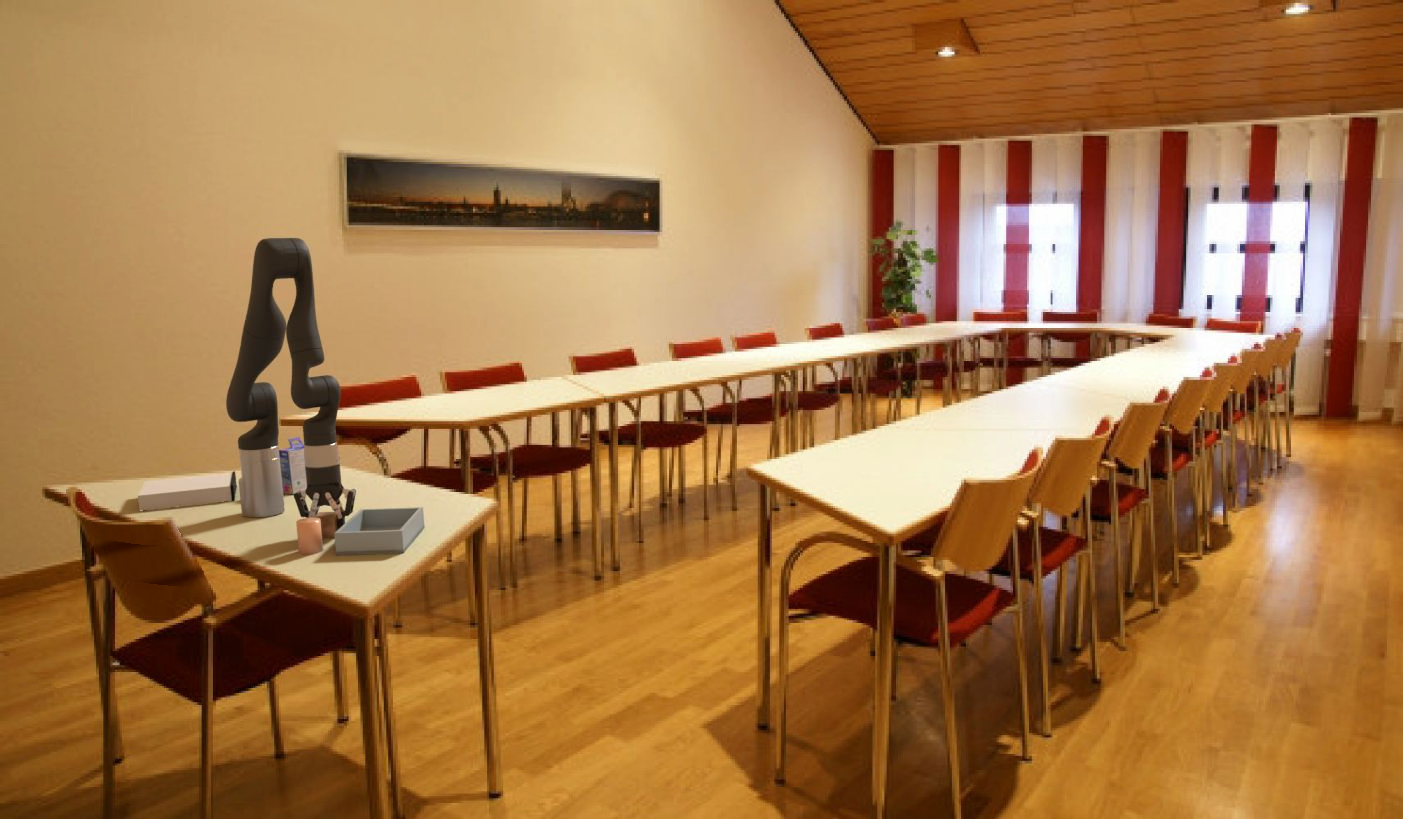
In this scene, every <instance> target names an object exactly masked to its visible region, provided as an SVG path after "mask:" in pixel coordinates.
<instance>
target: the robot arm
mask: <svg viewBox="0 0 1403 819" xmlns="http://www.w3.org/2000/svg"><path fill="white" fill-rule="evenodd" d="M310 252H311V251H310V249H309V247H308V244H307V243H306V242H305V241H304V240H303V239H301V238H299V237H268V238H263V239H261V240H258V242H257V244H256V247H255V250H254V254H253V255H254V256H253V264H252V274H251V285H250V294H249V298H248V306H247V311H246V316H245V320H244V322H243V328H242V334H241V339H240V346H239V351H238V354H237V355H238V356H237V361H236V363H235V364H236V365H235V368H234V371H233V375H232V377H231V380H230V384H229V385H228V386H229V387H228V390H227V393H226V398H225V400H226V401H225V403H226V404H225V405H226V407H225V408H226V413H227V415H228V417H229V418H230V419H231V421H234V422H237V423H246V422H252V421H256V424H254V426H253V427H252V428H251V429H249V430H248V431H247V432H245V433H242V434H241V435H240V436H239V437H238V438H237V439H238V440H237V447H238V454H239V467H240V474H241V478H239V479H238V489H239V498H240V509H241V516H242V517H249V518H267V517H272V516H277V515H280V514H282V513H284V512H285V500H284V493H283V487H282V477H281V467H280V456H279V450H280V448H279V447H280V446H279V433H280V431H279V430H280V429H279V412H278V411H279V409H278V408H279V407H278V396H277V393H276V390H275V388H274V386H273V385H272V384H271V383H270V382H266V381H265V382H264V381H259V382H256V380H258V378H259V376H260V375H261V374H262V373H263V372H264V371H265V370H266V368H268V367H269V366H270V365H271V364H272V362H273V361H274V360H275V359H276V358H277V357H278V355H279V354H280V353H281V351H282V349H283V345H284V341H285V336H286V341H287V345H288V350H289V355H290V358H291V381H290V382H291V384H290V397H291V400H292V402H293V403H294V405H295V406H296V407H297V408H299V409H301V410H308V409H313V408H319V410H318V412H317V414H315V415H314V416H312V417H309V418H307V419H305V420H304V421H303V422H302V434H303V436H302V437H303V444H304V460H305V471H306V482H307V488H306V490H304V491H300V490H299V491H298V492H296V493H295V494H293V498H294V500H295V503H296V506H297V509H298V512H299V515H300V517H302V518H313V517H314V516H315V515H317V514H318V513H319V510H320V507H323V506H326V507H327V506H328V507H330V508H331V510H332V512H335V514H336V516H337V530H338V529H340V528H341V527H342V526H343V525H344V524H345V523H346V517H349V516H350V515H351V514H352V513H353V512H354V506H355V500H356V494H357V489H355V488H352V489H349V488H345V487H344V486H343V484H342V475H341V473H342V472H341V463H340V461H341V460H340V459H341V457H340V452H339V446H338V442H337V430H336V429H337V428H336V422H337V417H338V411H339V406H340V402H341V395H342V392H341V386H340V383H339V382H338V380H337V378H335V377H334V376H333V375H331V374H330V375H329V374H326V375H317V376H309V374H310V369H311V368H315V367H317V366H318V367H319V366H320V365H322V364H324V361H325V353H324V350H323V344H322V341H321V336H320V332H319V327H318V322H317V313H316V301H315V298H316V297H315V284H314V274H313V273H314V272H313V265H312V264H313V263H312V256H311V253H310ZM284 279H293V280H294V285H295V293H296V294H295V298H294V299H295V300H294V302H293V307H292V309H291V312H290V315H289V317H288V320H287V321H286V318H285V316H284V314H283V312H282V310H281V309H280V307H279V306H278V304H277V302H276V300H275V297H274V295H273V290H274V284H275V281H276V280H284ZM342 495H344V498H345V499H346V502H345V508H343V503H342V501H341V499H340V498H341V496H342ZM307 497H308V498H309V500H311V505H310V507H308V504H307V502H306V498H307Z"/></svg>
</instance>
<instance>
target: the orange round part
mask: <svg viewBox="0 0 1403 819" xmlns="http://www.w3.org/2000/svg"><path fill="white" fill-rule="evenodd" d="M295 524H296V532H297V533H296V534H297V543H298V544H297V545H298V553H299V555H304V556H305V555H306V556H307V555H308V556H309V555H315V554H319V553H321V552H323V551H324V545H323V539H322V531H321V520H320V518H306V517H303V518H301V519H297V520H296V522H295Z"/></svg>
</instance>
